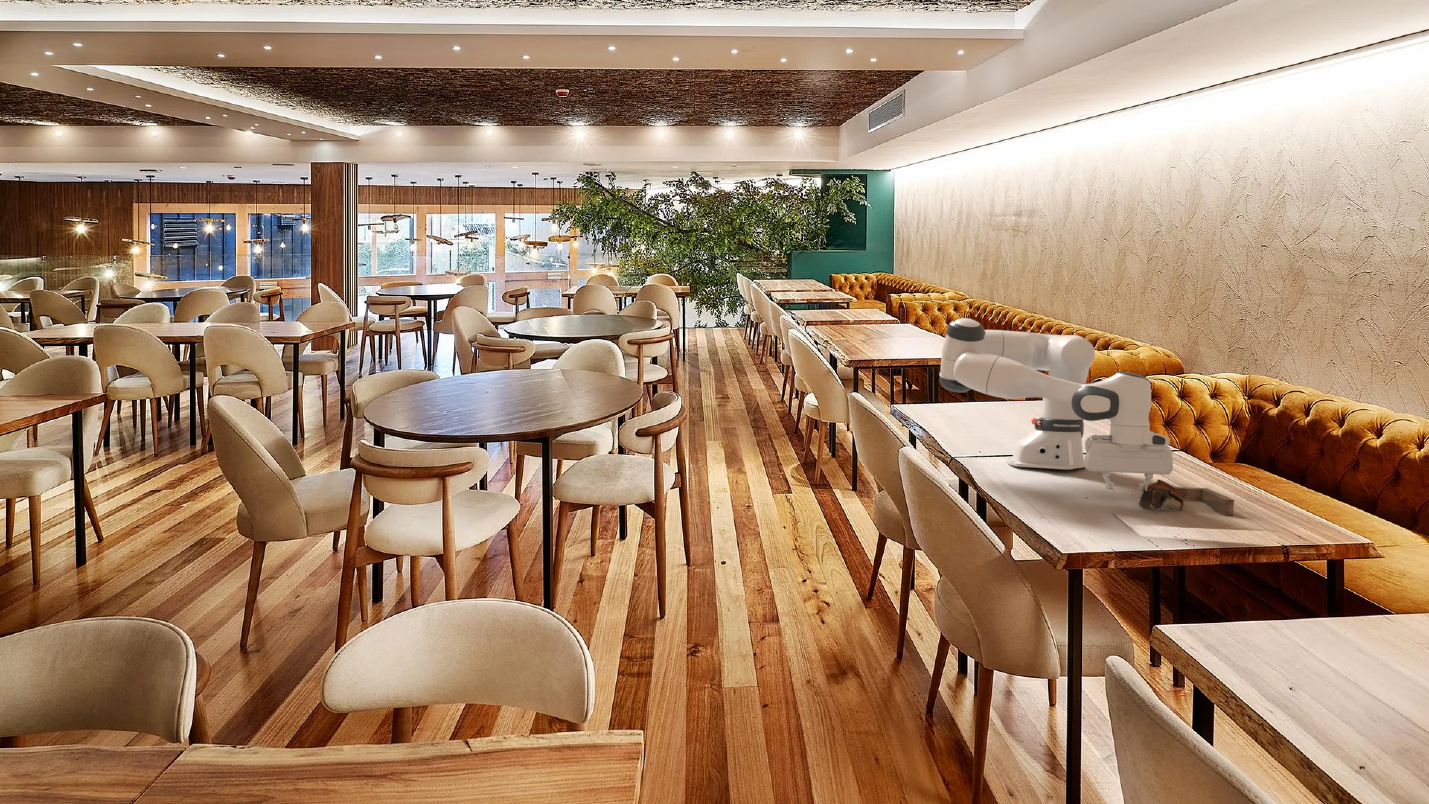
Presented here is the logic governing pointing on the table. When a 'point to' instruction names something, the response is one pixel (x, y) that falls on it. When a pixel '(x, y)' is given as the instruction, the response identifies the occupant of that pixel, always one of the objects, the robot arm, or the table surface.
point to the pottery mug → (1160, 495)
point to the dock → (1209, 499)
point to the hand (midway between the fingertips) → (1126, 490)
